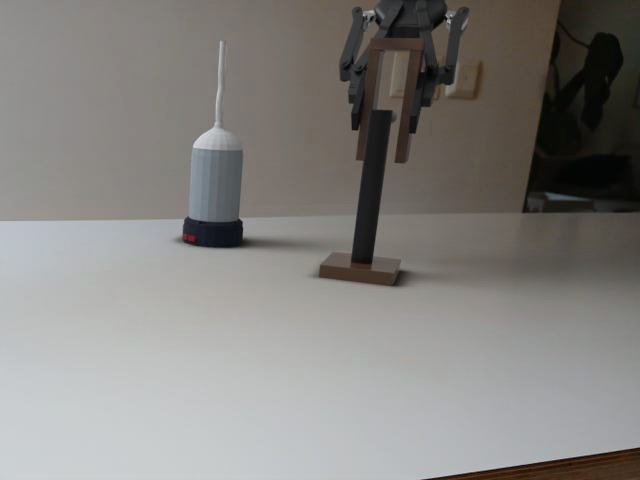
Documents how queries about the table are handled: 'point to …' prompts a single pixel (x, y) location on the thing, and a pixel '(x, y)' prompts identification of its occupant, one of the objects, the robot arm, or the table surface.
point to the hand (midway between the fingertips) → (383, 123)
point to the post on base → (367, 214)
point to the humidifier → (215, 181)
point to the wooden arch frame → (373, 85)
